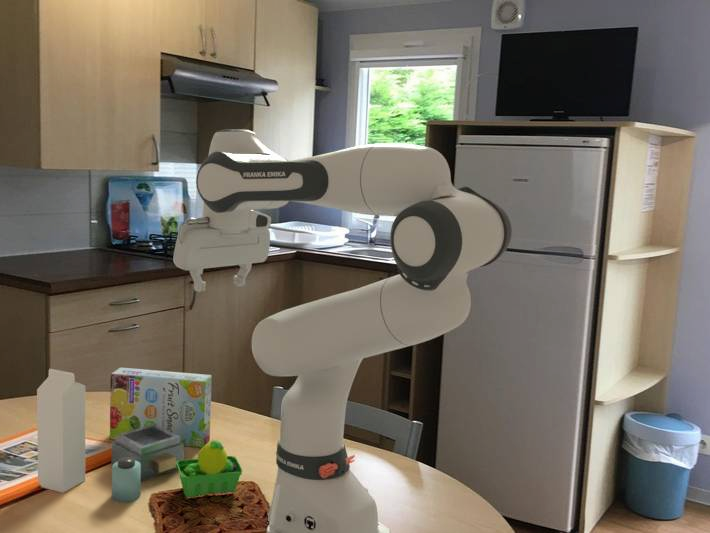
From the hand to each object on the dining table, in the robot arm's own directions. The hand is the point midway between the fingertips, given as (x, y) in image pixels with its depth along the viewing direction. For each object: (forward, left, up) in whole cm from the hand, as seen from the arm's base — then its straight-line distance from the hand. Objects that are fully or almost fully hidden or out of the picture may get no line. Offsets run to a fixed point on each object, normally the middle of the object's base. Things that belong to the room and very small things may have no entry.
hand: (219, 287), depth 141 cm
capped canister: (+4, +17, -38) cm, 42 cm away
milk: (+17, +23, -38) cm, 47 cm away
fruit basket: (-5, +5, -38) cm, 39 cm away
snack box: (+22, -3, -38) cm, 44 cm away
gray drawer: (+12, +7, -38) cm, 41 cm away
